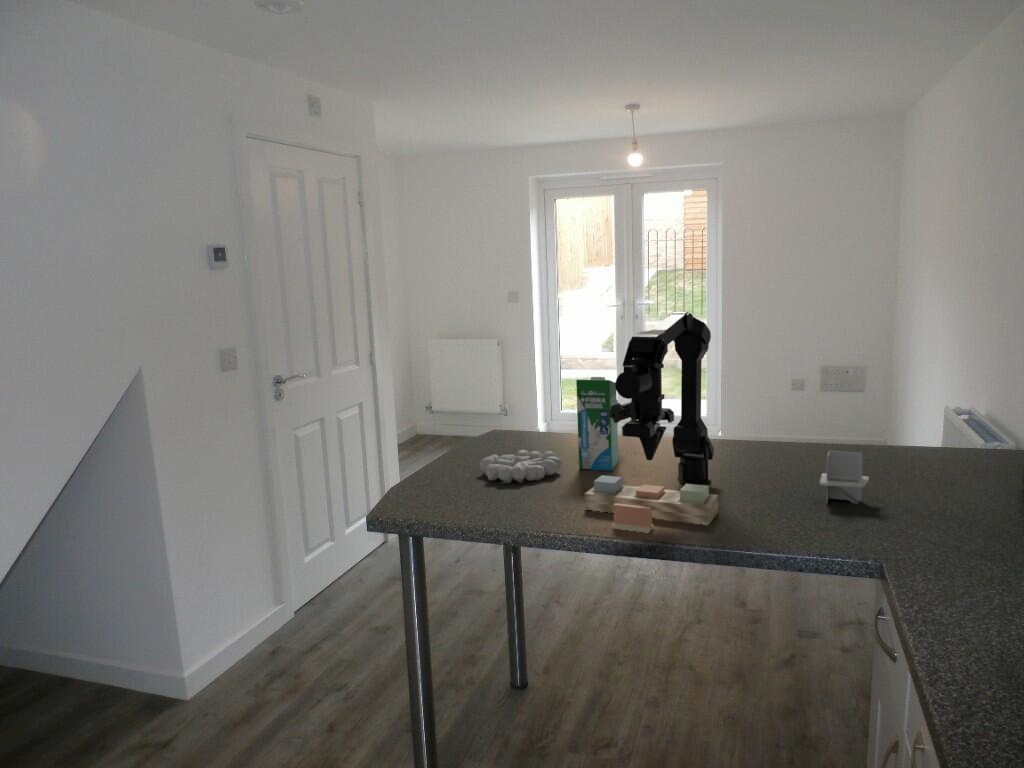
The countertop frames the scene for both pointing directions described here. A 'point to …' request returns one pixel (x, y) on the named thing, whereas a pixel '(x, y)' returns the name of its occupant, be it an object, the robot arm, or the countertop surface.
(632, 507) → the terracotta sign
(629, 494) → the button panel
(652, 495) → the terracotta button
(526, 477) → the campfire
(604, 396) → the milk carton
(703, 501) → the sage button
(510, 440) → the countertop surface
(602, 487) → the slate button
